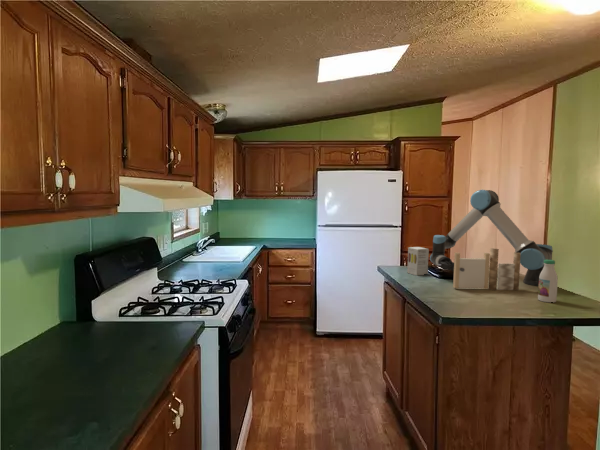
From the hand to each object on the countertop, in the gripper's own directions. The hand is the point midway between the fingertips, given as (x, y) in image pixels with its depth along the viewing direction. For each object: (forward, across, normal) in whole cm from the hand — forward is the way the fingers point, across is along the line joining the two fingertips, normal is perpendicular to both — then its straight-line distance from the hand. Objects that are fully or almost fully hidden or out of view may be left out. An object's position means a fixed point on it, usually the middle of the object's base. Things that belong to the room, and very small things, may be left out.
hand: (460, 270), depth 226 cm
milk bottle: (+34, -28, -8) cm, 45 cm away
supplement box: (-31, +14, -9) cm, 35 cm away
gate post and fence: (+11, -20, -8) cm, 24 cm away
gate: (+11, -2, -8) cm, 14 cm away
